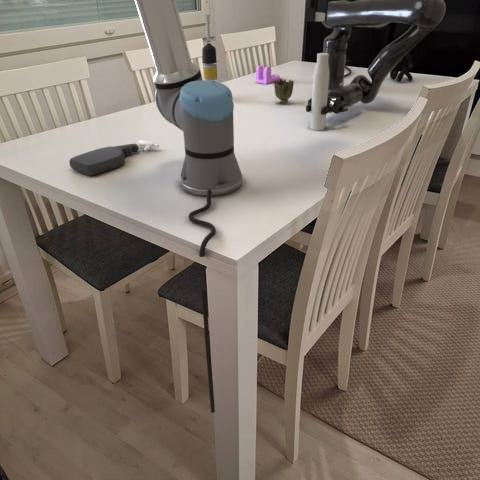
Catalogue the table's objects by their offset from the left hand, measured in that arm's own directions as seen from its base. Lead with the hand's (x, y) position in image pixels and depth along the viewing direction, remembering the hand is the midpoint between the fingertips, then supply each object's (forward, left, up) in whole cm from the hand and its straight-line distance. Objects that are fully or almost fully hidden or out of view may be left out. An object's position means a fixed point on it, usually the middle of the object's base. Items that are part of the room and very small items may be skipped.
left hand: (315, 20), depth 118 cm
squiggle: (+90, -22, -33) cm, 98 cm away
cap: (0, 0, +2) cm, 2 cm away
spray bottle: (-31, +47, -33) cm, 66 cm away
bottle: (+13, 0, -33) cm, 35 cm away
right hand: (+10, +1, -26) cm, 28 cm away
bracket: (+73, +34, -33) cm, 87 cm away
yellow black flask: (+37, +47, -33) cm, 68 cm away
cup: (+38, +18, -33) cm, 54 cm away
